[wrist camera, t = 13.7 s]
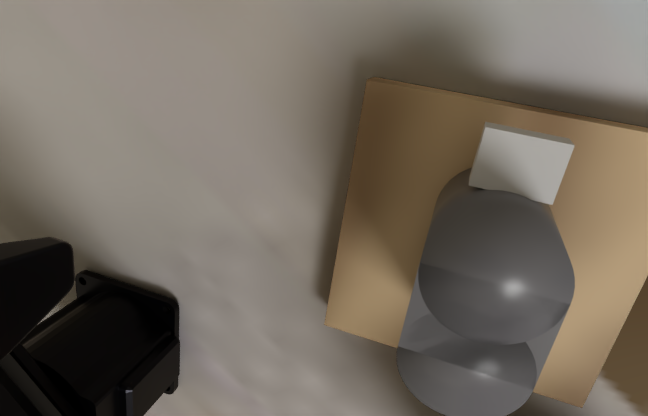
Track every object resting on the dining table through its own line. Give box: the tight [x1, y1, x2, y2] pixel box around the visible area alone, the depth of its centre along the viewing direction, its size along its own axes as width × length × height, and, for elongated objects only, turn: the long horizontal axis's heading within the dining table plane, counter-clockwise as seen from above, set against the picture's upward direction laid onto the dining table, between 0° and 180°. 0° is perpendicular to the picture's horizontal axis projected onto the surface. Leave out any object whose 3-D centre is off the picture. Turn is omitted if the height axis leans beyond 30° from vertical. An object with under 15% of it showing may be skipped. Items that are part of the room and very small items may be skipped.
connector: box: [397, 122, 575, 416], centre depth 15 cm, size 4×9×5 cm, turn 171°
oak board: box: [324, 77, 648, 408], centre depth 18 cm, size 11×11×1 cm
